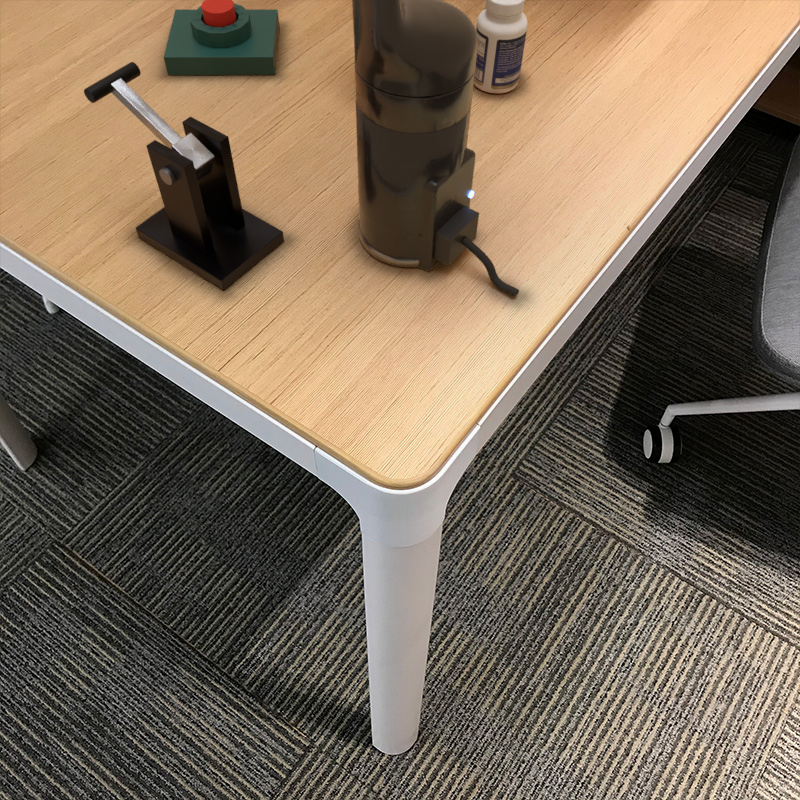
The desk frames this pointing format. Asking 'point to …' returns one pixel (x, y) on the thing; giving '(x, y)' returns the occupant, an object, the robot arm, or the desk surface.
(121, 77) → the lever
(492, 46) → the pill bottle
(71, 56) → the desk surface
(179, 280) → the desk surface
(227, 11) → the button
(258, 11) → the control block
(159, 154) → the black lever mount
